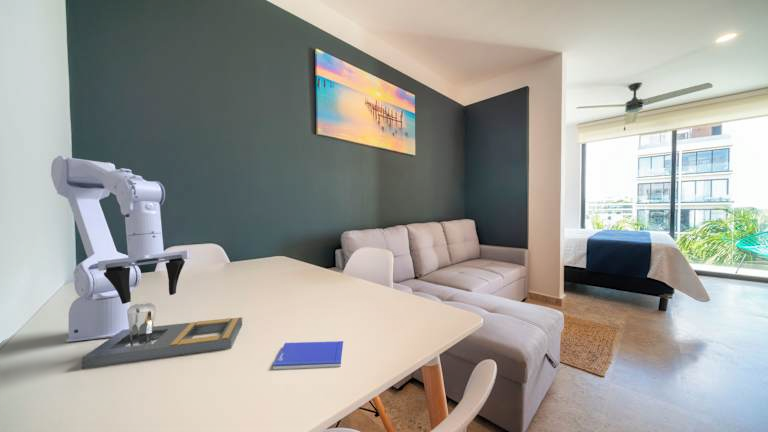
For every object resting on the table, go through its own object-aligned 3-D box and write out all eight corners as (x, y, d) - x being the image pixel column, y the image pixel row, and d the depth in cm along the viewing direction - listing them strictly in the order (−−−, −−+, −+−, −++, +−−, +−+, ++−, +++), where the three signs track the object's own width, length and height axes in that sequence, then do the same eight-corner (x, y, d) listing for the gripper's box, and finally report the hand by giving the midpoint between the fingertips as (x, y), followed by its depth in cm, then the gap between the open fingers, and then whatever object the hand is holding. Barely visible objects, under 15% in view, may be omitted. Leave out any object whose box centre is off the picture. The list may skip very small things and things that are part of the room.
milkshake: (121, 356, 52) (121, 306, 52) (131, 344, 56) (131, 298, 56) (150, 351, 54) (151, 302, 54) (158, 339, 58) (159, 295, 58)
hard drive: (273, 363, 48) (341, 361, 49) (285, 341, 56) (343, 340, 57) (272, 372, 48) (340, 369, 49) (285, 349, 56) (343, 347, 57)
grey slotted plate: (81, 368, 47) (81, 356, 47) (122, 338, 59) (122, 328, 59) (231, 348, 55) (231, 338, 55) (242, 325, 67) (242, 316, 67)
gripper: (87, 239, 50) (92, 311, 49) (181, 230, 56) (187, 293, 55) (106, 239, 56) (111, 303, 55) (189, 231, 62) (194, 288, 62)
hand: (150, 298), depth 56 cm, fingers open, 7 cm apart
